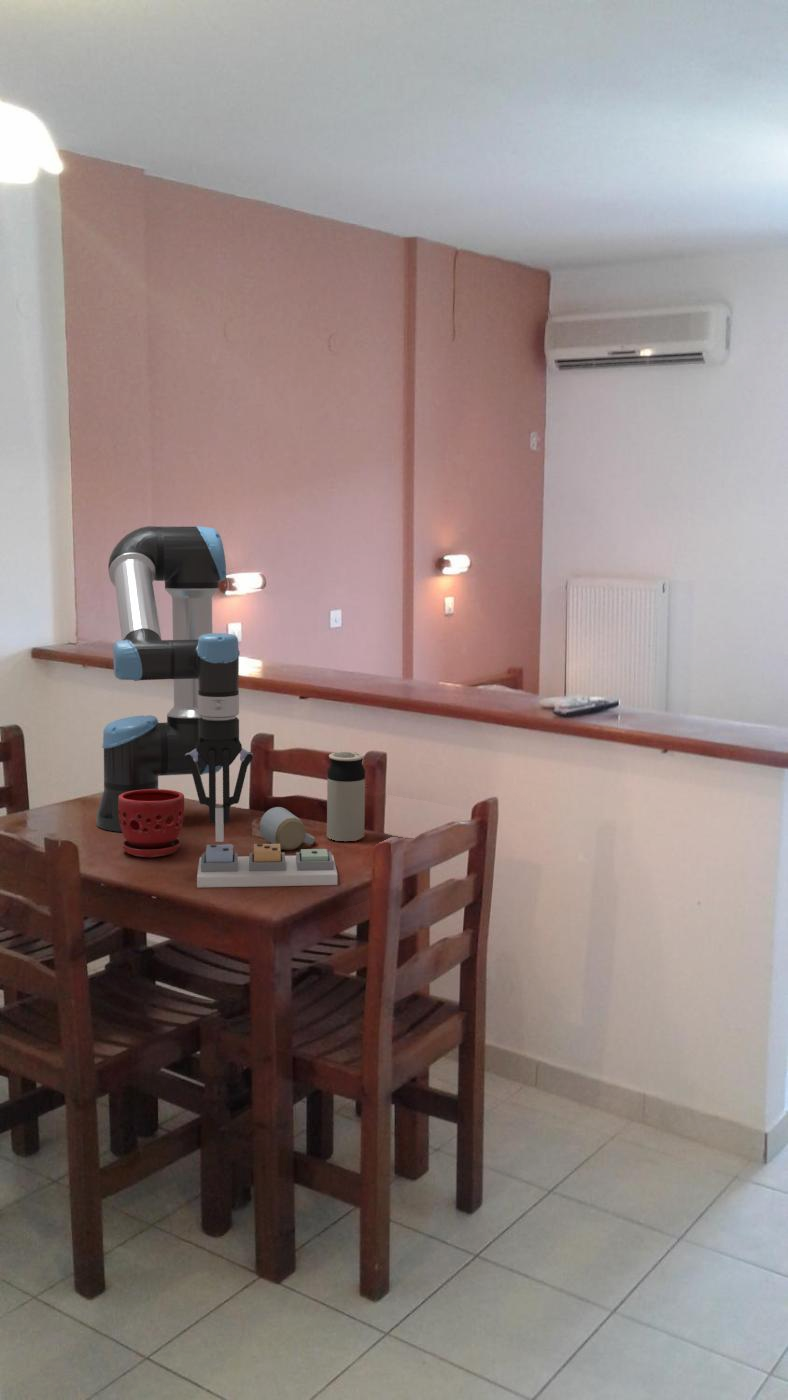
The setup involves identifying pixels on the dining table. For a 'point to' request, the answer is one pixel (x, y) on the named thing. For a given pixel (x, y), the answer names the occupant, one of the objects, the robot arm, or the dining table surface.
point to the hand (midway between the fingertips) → (219, 839)
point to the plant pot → (151, 821)
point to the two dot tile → (219, 853)
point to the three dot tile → (267, 852)
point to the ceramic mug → (284, 829)
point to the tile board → (266, 872)
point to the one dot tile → (314, 855)
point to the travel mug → (345, 796)
